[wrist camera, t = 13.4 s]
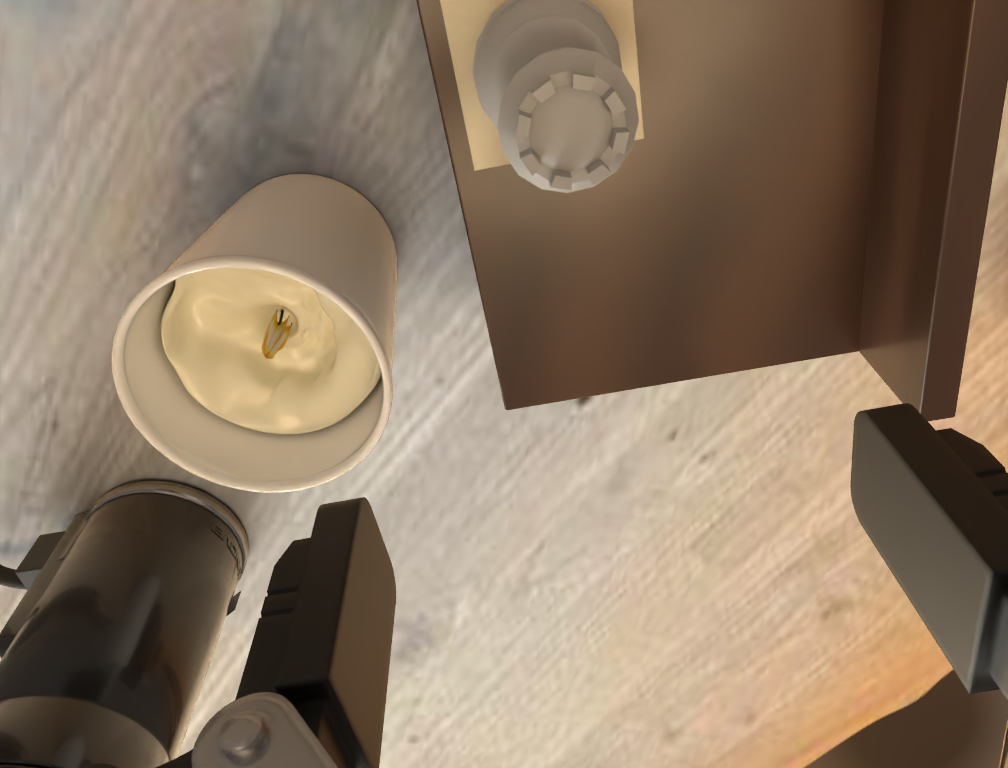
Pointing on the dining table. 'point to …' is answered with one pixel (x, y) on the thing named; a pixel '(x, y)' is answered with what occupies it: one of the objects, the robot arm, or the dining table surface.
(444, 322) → the dining table surface
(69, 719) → the robot arm
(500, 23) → the rook chess piece
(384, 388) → the candle holder
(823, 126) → the walnut shelf
